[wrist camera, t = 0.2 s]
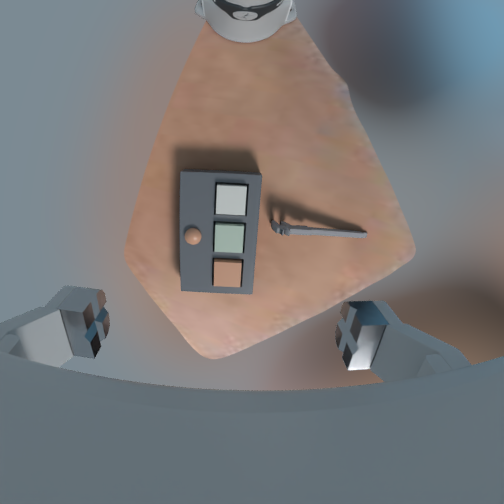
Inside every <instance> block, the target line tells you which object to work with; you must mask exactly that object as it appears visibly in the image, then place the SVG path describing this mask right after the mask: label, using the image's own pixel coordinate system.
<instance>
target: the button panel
mask: <svg viewBox="0 0 504 504" xmlns="http://www.w3.org/2000/svg"><path fill="white" fill-rule="evenodd" d="M218 183H236V184H246V185H247V192H246V206H245V215H228V214H216V198H217V184H218ZM261 183H262V175H261V173H258V172H242V171H223V170H197V169H184V170H182V171H181V172H180V275H181V291H192V292H210V293H231V294H252V292H253V280H254V268H255V256H256V244H257V232H258V219H259V207H260V195H261ZM216 221H222V222H242V223H244V235H243V251H242V253H231V252H215V225H216ZM215 258H230V259H241V260H242V266H241V282H240V287H222V286H214V260H215Z"/></svg>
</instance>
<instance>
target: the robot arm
mask: <svg viewBox="0 0 504 504" xmlns="http://www.w3.org/2000/svg"><path fill="white" fill-rule="evenodd" d="M201 5H202V6H201ZM290 10H291V11H290ZM195 13H196V14H197V15H198V16H200V17H202V18H203V19H205V20H207V22H208V23H209V24H210V26H211V27H212V28H213V30H214V31H215V32H217V33H218V34H219V35H221V36H222V37H224V38H226V39H229V40H232V41H236V42H245V43H246V42H256V41H260V40H263V39H266V38H268V37H269V36H271V35H273V34H274V33H275V32H276V31H277V30H278V29H279V28H280V27H281V26H282V25H284V24H287V23H289V22H292V21H294V20H295V19H296V16H297V13H296V8H295V3H294V0H198V2H197V4H196V7H195ZM105 303H106V297H105V293H104V292H103V290H99V289H91V288H83V287H76V286H64V287H63V288H62V289H61V290H60V291H59V292H58V293H57V294H56V295H55V296H54V297H53V298H52V299H51V300H50V301H49V303H48V304H47V305H46V306H45V307H39V308H36V309H34V310H31V311H29V312H26V313H24V314H22V315H19V316H16V317H14V318H12V319H9V320H7V321H4V322H2V323H0V504H504V356H503V357H499V358H496V359H493V360H489V361H486V362H482V363H478V364H475V365H471V364H470V363H469V361H468V360H467V359H466V358H465V356H464V355H463V354H462V353H461V352H460V351H459V349H457V348H455V347H453V346H451V345H449V344H447V343H445V342H443V341H441V340H439V339H437V338H435V337H432V336H430V335H429V334H427V333H424V332H422V331H420V330H418V329H416V328H414V327H412V326H410V325H408V324H403V323H402V322H401V321H400V319H399V318H398V317H397V316H396V314H395V313H394V312H393V311H392V309H391V308H390V307H389V306H388V304H387V303H386V302H385V301H383V300H378V301H352V302H351V301H349V302H344V303H343V305H342V307H341V311H340V313H341V315H342V317H343V318H342V319H341V320H340V321H339V322H338V323H337V327H336V331H335V334H336V335H335V339H336V344H337V347H338V349H339V350H341V351H342V352H343V356H342V358H343V361H344V363H345V365H346V368H347V370H359V369H370V370H371V371H372V372H373V373H375V374H376V375H377V376H378V377H380V378H381V379H382V380H383V381H384V382H383V383H375V384H367V385H358V386H348V387H337V388H323V389H308V390H307V389H306V390H277V391H276V390H275V391H249V390H247V391H246V390H245V391H244V390H216V389H199V388H198V389H197V388H186V387H174V386H164V385H156V384H147V383H139V382H132V381H126V380H119V379H112V378H107V377H101V376H96V375H91V374H85V373H81V372H76V371H72V370H67V369H63V368H59V366H61V365H62V364H64V363H65V362H66V361H68V360H69V359H70V358H72V357H73V355H75V356H81V357H87V358H94V359H95V357H96V355H97V353H98V351H99V350H100V348H101V343H100V341H102V340H103V339H105V338H106V336H107V334H108V331H109V326H110V322H109V321H110V320H109V313H108V312H107V310H106V309H105V308H104V305H105Z"/></svg>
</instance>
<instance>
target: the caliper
mask: <svg viewBox="0 0 504 504" xmlns="http://www.w3.org/2000/svg"><path fill="white" fill-rule="evenodd" d="M271 227H272V229H273V230H274V231H275V232H276V233H280V234H281V235H283V234H285V235H288V236H289V234H297V235H325V236H340V237H355V238H363V237H365V238H366V236H367V233H366V232H360V231H351V230H338V229H326V228H313V227H307V226H300V225H296V226H292V225H290V224H288V223H286V222H284V221H280V225H279V224H278V223H277V222H275V221H274V220H272V222H271Z"/></svg>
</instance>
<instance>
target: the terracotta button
mask: <svg viewBox="0 0 504 504" xmlns="http://www.w3.org/2000/svg"><path fill="white" fill-rule="evenodd" d="M241 266H242V260H241V259H230V258H215V260H214V286H222V287H240V282H241Z"/></svg>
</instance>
